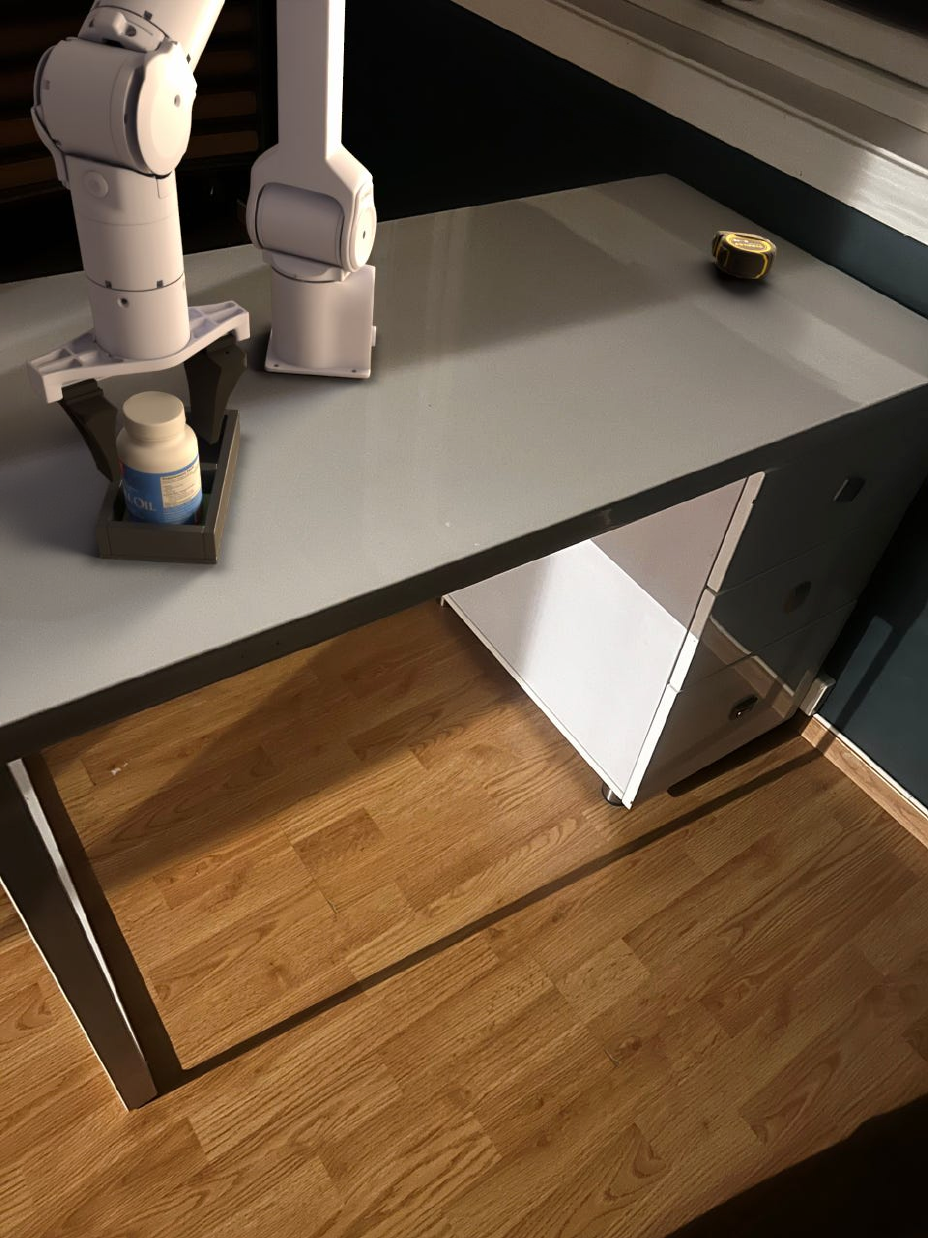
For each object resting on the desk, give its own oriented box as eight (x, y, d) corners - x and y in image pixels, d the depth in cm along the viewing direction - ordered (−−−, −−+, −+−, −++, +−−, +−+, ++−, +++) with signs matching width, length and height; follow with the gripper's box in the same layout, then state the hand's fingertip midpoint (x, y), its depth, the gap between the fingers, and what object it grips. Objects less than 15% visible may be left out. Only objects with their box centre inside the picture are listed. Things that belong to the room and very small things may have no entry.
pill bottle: (113, 513, 72) (93, 399, 65) (177, 486, 75) (164, 375, 68) (155, 552, 70) (138, 439, 63) (219, 523, 72) (210, 412, 66)
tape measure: (763, 262, 117) (773, 232, 115) (772, 289, 112) (783, 257, 110) (707, 255, 117) (716, 224, 114) (714, 281, 112) (724, 249, 110)
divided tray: (241, 439, 81) (239, 409, 79) (217, 564, 70) (214, 533, 68) (140, 432, 80) (136, 402, 78) (100, 558, 69) (94, 527, 67)
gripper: (202, 217, 64) (215, 395, 74) (-16, 270, 56) (31, 461, 66) (265, 261, 61) (271, 441, 71) (44, 323, 53) (84, 516, 63)
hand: (159, 454), depth 68 cm, fingers open, 7 cm apart
